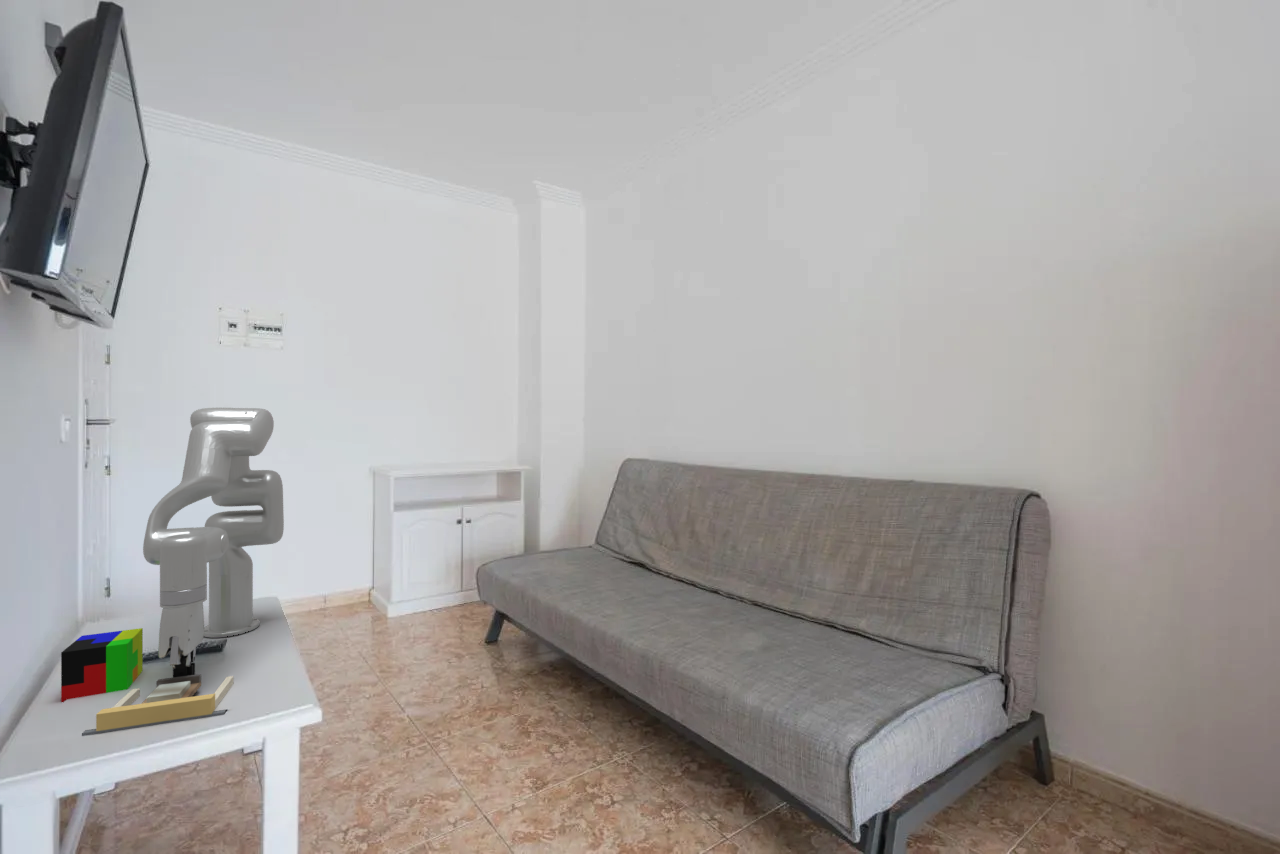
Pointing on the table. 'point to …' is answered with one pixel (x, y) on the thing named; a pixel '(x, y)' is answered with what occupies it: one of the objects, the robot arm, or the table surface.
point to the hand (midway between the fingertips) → (184, 684)
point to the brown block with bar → (175, 688)
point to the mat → (158, 710)
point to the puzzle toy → (101, 663)
